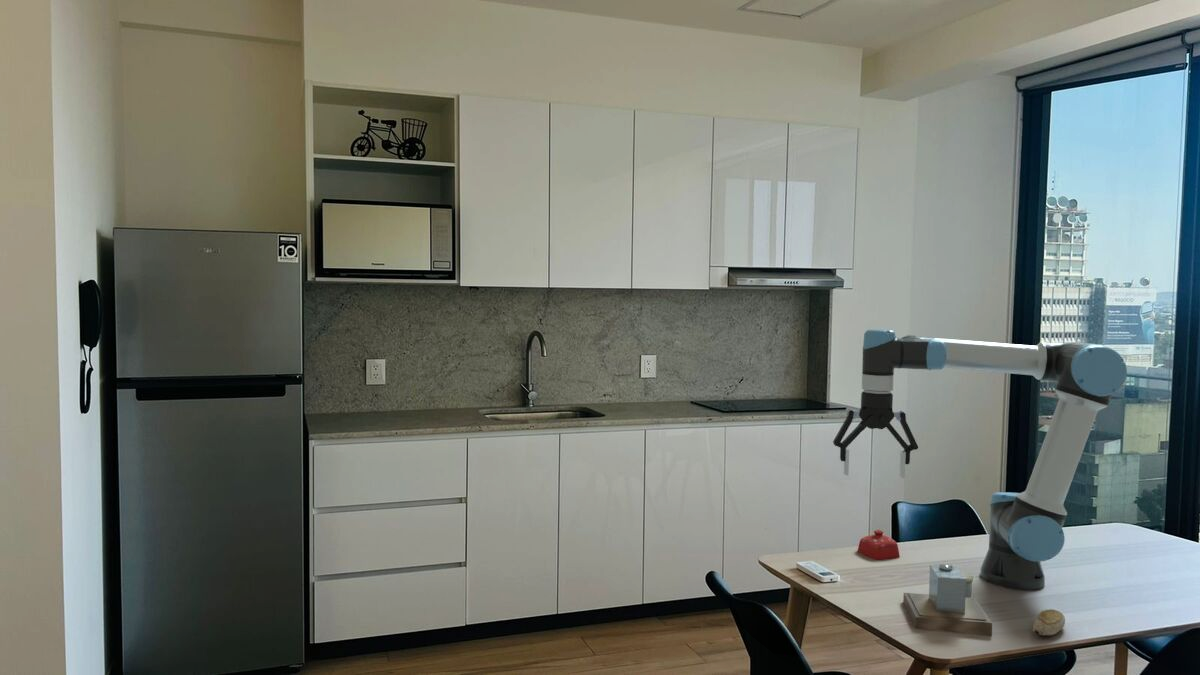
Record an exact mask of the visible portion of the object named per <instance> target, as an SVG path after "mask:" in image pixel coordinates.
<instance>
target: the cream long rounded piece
mask: <svg viewBox="0 0 1200 675" xmlns="http://www.w3.org/2000/svg"><path fill="white" fill-rule="evenodd" d="M1065 624H1066V616H1065V614H1064V613H1062V612H1061V611H1059V610H1056V609H1052V608H1051V609H1045V610H1042V611H1041V612H1040V613H1038V614H1037V616H1036V617H1035V619H1034V622H1033V625H1032V632H1033V633H1035V634H1036V635H1039V636H1043V637H1044V636H1053V635H1056V634H1058V632H1060V631H1062V629H1064V627H1065Z"/></svg>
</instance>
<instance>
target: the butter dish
mask: <svg viewBox="0 0 1200 675" xmlns="http://www.w3.org/2000/svg"><path fill="white" fill-rule="evenodd" d="M873 533H874V534H870V535H865V536H864V537H862V538H861V539H860V540H859V544H858V547H857V552H858V553H859V554H861V555H863V556H865V557H867V558H868V559H869V558H870V559H872V560H874V561H886V560H893V559H894V560H895V559H898V558H900V557H901V556H900V551H899V544H898V543H897V541H896V540H894V539H893V538H891V537H890V536H886V535H885V534H884V531H883V530H881V529H875V530H874V531H873Z"/></svg>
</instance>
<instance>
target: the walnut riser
mask: <svg viewBox="0 0 1200 675" xmlns="http://www.w3.org/2000/svg"><path fill="white" fill-rule="evenodd" d="M902 600H903V605H904V607H905V609H906V611H907V613H908V615H909V619H910V620H911V622H912V624H913V627H914V629H918V630H925V631H926V630H928V631H937V632H947V633H957V634H968V635H978V636H988V637H992V635H993V622H992V621H991V619H990V617H989V616H988V614H987V613H986V612H985V611H984V609H983V608H982V606H981V605H980V603H979V602H978V600H976V597H972V596H971V597H966V599H965V614H954V613H941V612H936V610H935V608H934V607H933V605H932V603H931V601H930V600H929V593H928V594H927V593H915V592H914V593H911V592H903V599H902Z"/></svg>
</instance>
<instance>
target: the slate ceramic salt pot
mask: <svg viewBox="0 0 1200 675" xmlns="http://www.w3.org/2000/svg"><path fill="white" fill-rule="evenodd" d="M961 573H962V574H963V575H964V577H965V578H966V597H971V598H972V592H973V590H972V588H973V581H974V577H973V575H972V574H970V573H966V572H962V571H961Z"/></svg>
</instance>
